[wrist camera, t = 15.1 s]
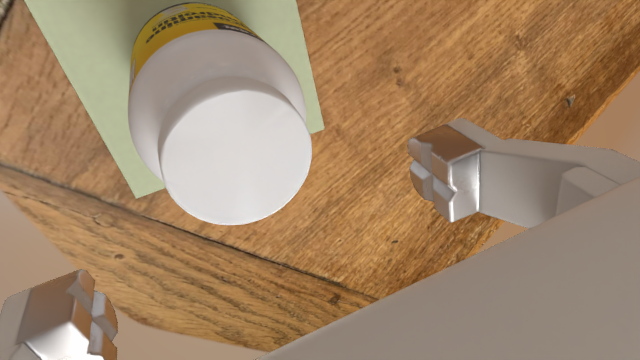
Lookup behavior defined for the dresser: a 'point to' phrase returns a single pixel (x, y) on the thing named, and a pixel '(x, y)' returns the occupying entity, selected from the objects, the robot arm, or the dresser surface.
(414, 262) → the dresser surface
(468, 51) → the dresser surface
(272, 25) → the mat
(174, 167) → the pill bottle
